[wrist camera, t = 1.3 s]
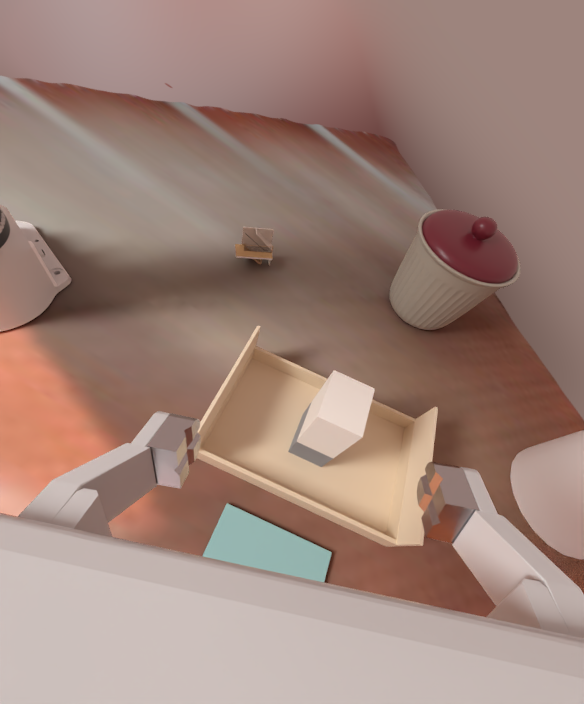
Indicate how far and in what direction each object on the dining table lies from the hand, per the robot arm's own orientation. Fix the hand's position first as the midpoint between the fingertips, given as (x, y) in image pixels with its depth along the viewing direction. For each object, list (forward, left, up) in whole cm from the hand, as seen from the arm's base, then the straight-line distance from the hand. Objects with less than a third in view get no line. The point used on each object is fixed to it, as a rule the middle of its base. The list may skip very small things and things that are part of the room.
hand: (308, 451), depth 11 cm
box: (-4, +13, -32) cm, 35 cm away
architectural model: (-39, +22, -33) cm, 56 cm away
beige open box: (-4, +13, -33) cm, 36 cm away
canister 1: (-17, +48, -33) cm, 61 cm away
